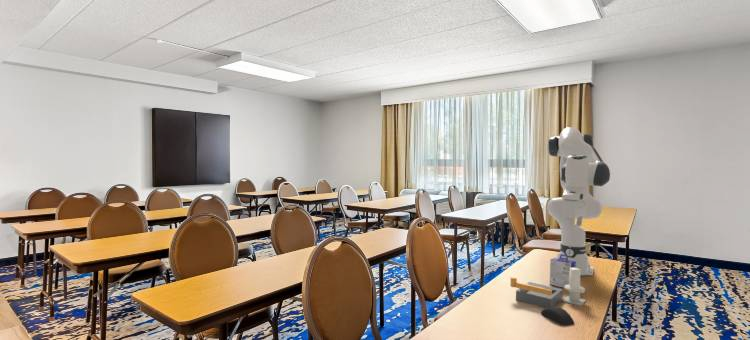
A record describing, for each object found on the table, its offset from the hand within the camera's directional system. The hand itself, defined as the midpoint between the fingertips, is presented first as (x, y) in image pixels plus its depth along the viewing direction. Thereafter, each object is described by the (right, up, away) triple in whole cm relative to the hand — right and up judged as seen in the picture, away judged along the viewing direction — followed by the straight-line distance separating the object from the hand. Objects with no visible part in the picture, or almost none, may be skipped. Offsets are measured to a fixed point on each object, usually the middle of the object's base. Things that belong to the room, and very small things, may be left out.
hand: (575, 227), depth 158 cm
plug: (0, -31, +1) cm, 31 cm away
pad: (0, -31, +1) cm, 31 cm away
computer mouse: (-15, -32, -16) cm, 39 cm away
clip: (-19, -26, -1) cm, 32 cm away
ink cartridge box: (+4, -31, +20) cm, 37 cm away
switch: (-14, -31, +3) cm, 34 cm away
